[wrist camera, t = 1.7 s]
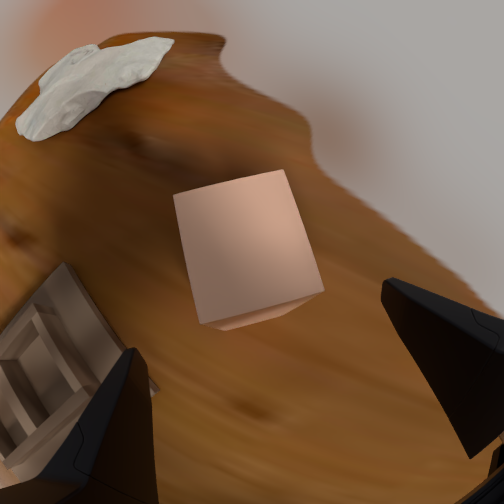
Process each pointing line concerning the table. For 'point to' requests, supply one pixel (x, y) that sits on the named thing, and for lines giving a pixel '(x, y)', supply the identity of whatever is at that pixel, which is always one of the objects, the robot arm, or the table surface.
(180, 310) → the table surface
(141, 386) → the robot arm
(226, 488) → the table surface
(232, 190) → the clay block
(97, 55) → the rock
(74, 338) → the rack
